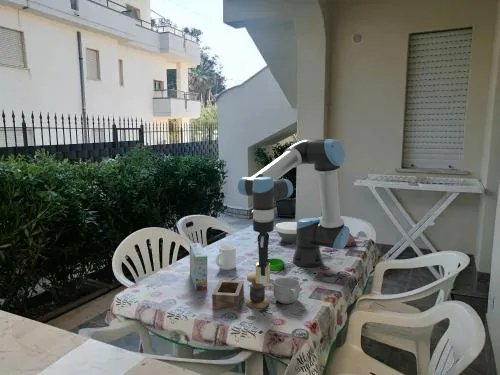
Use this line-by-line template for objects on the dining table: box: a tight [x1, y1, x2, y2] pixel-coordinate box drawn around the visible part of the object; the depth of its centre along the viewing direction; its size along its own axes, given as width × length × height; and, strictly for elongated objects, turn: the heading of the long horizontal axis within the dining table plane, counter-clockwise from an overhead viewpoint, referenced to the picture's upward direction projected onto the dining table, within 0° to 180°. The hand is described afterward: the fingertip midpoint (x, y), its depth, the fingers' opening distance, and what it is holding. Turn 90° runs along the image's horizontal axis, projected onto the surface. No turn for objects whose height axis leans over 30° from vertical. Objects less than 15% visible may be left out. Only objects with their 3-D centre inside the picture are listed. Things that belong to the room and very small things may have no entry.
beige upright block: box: [255, 262, 271, 285], centre depth 136 cm, size 5×3×9 cm, turn 82°
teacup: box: [272, 276, 302, 305], centre depth 144 cm, size 14×11×8 cm
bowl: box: [275, 221, 298, 244], centre depth 228 cm, size 20×20×10 cm
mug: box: [215, 244, 237, 271], centre depth 181 cm, size 12×8×10 cm
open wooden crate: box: [211, 279, 245, 312], centre depth 145 cm, size 10×14×6 cm
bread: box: [346, 233, 356, 247], centre depth 222 cm, size 16×20×10 cm
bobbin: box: [245, 272, 270, 310], centre depth 143 cm, size 9×9×11 cm
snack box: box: [189, 242, 208, 291], centre depth 165 cm, size 21×6×15 cm, turn 17°
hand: (263, 280), depth 136 cm, fingers closed on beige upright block, 3 cm apart
